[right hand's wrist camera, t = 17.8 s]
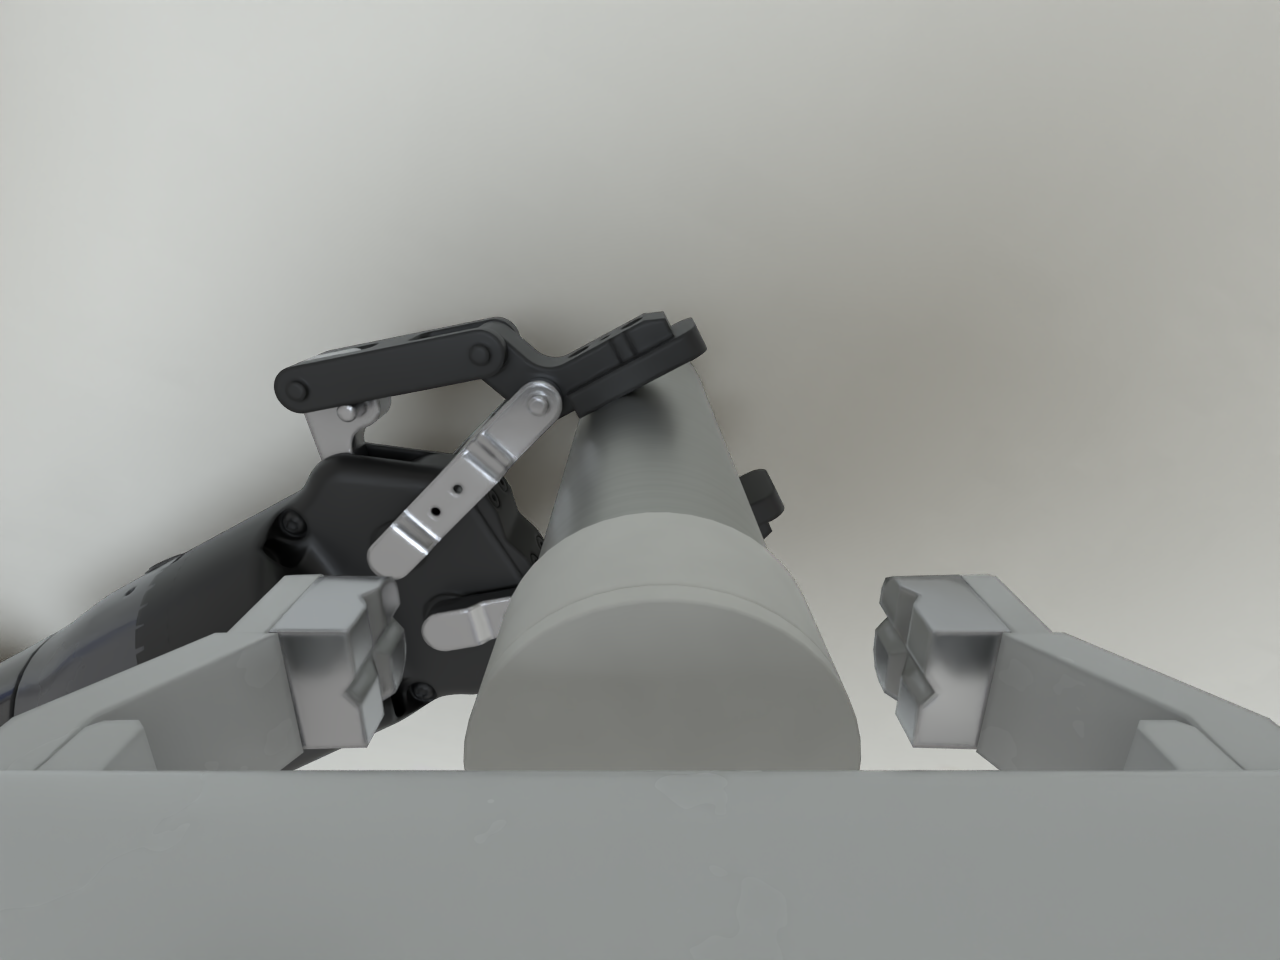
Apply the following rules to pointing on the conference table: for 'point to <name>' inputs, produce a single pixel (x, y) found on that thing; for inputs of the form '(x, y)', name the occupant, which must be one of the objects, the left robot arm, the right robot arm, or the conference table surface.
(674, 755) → the lid
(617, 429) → the grey cylinder
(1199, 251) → the conference table surface
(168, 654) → the right robot arm
